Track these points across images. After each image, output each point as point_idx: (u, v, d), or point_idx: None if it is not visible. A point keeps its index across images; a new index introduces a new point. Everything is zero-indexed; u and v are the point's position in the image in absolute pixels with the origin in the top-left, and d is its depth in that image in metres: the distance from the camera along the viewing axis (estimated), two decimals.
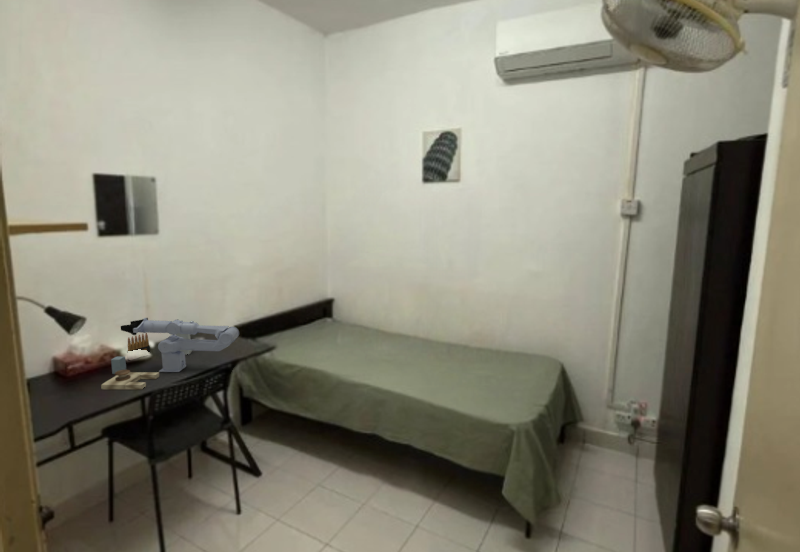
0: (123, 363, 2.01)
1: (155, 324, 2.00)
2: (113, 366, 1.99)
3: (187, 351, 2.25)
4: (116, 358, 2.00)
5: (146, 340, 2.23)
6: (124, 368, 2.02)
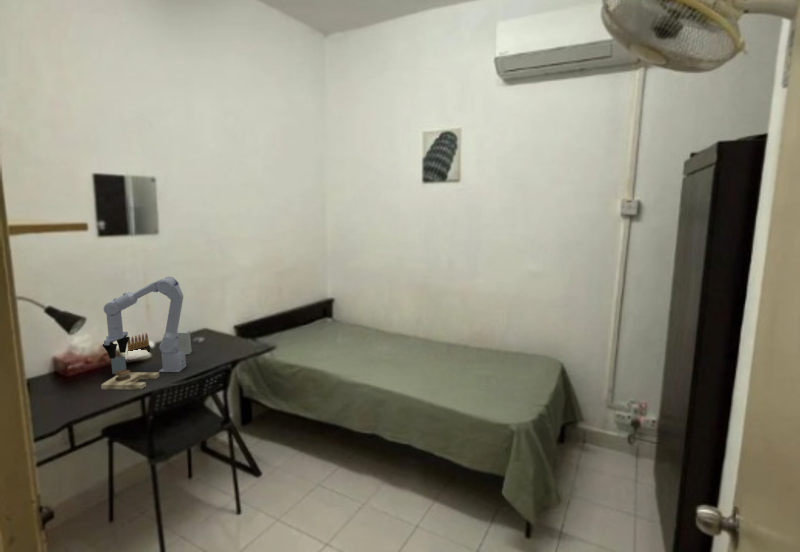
0: (123, 363, 2.01)
1: (108, 326, 1.95)
2: (113, 366, 1.99)
3: (187, 351, 2.25)
4: (116, 358, 2.00)
5: (146, 340, 2.23)
6: (124, 368, 2.02)
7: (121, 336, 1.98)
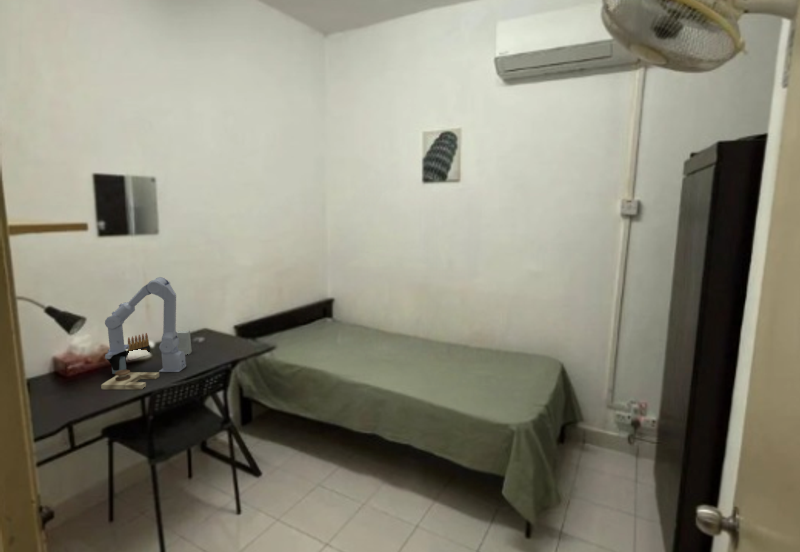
0: (123, 363, 2.01)
1: (109, 339, 1.96)
2: None
3: (187, 351, 2.25)
4: None
5: (146, 340, 2.23)
6: (124, 368, 2.02)
7: (122, 349, 1.99)
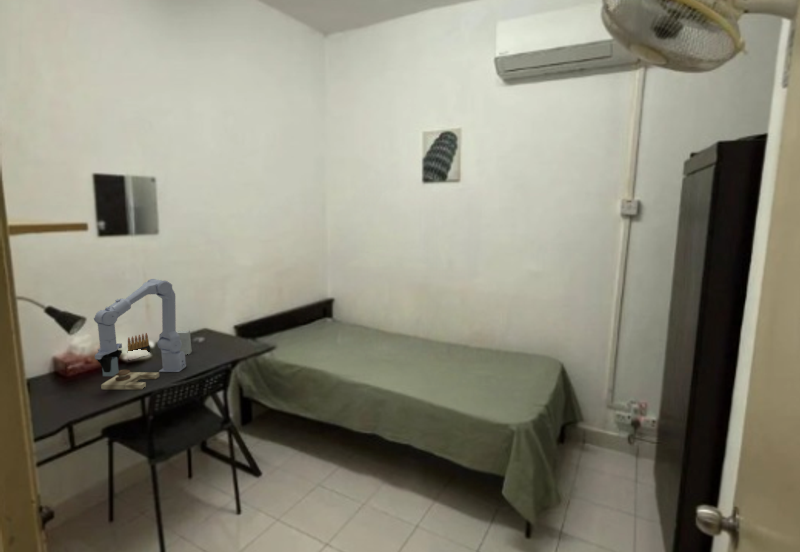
0: (115, 364, 1.81)
1: (106, 338, 1.76)
2: None
3: (187, 351, 2.25)
4: None
5: (146, 340, 2.23)
6: (116, 370, 1.82)
7: (114, 349, 1.79)
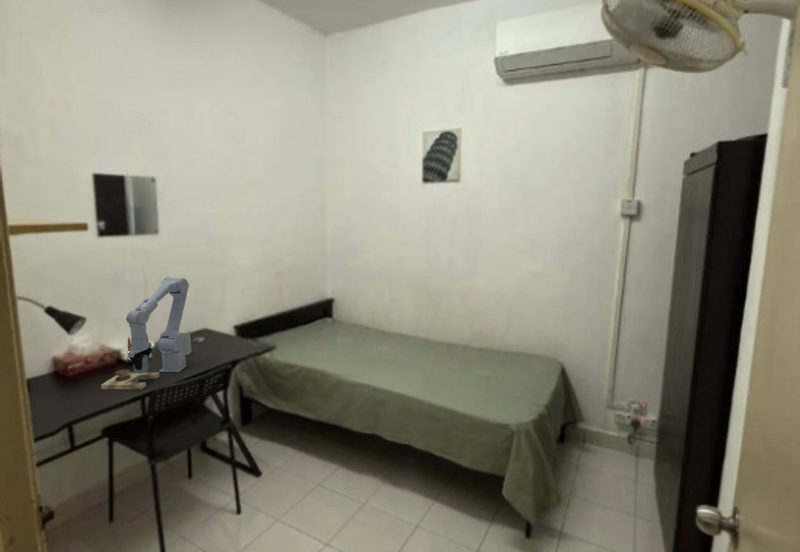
0: (145, 362, 1.89)
1: (139, 336, 1.84)
2: None
3: (187, 351, 2.25)
4: None
5: None
6: (146, 367, 1.90)
7: (145, 347, 1.87)
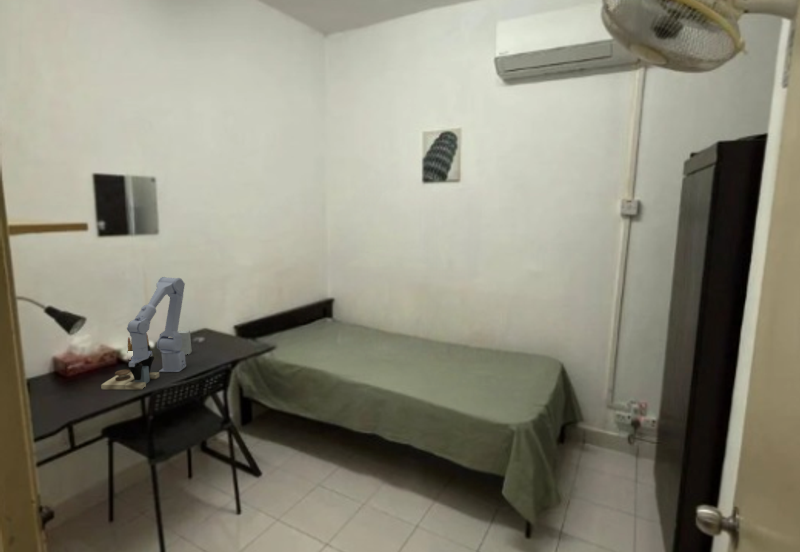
0: (146, 373, 1.90)
1: (140, 346, 1.85)
2: None
3: (187, 351, 2.25)
4: None
5: None
6: (147, 378, 1.90)
7: (146, 356, 1.87)
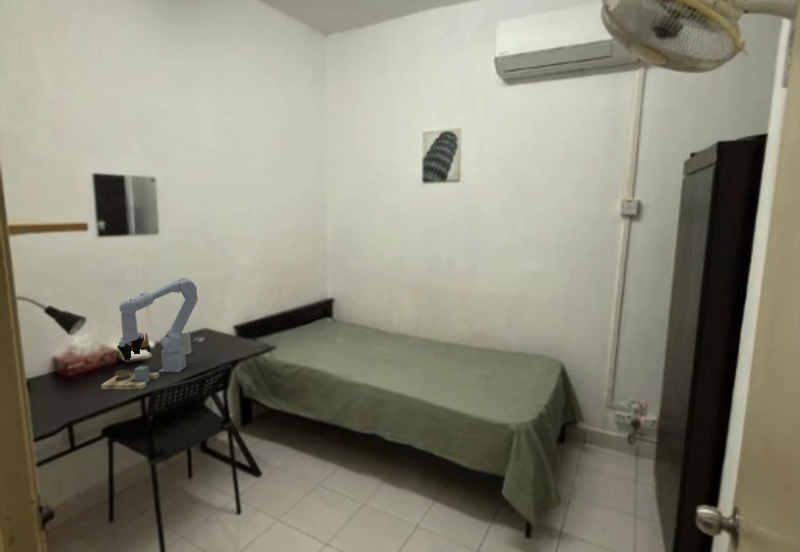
0: (146, 373, 1.90)
1: (125, 327, 1.90)
2: (136, 376, 1.87)
3: (187, 351, 2.25)
4: (139, 368, 1.88)
5: (146, 340, 2.23)
6: (147, 378, 1.90)
7: (136, 337, 1.93)
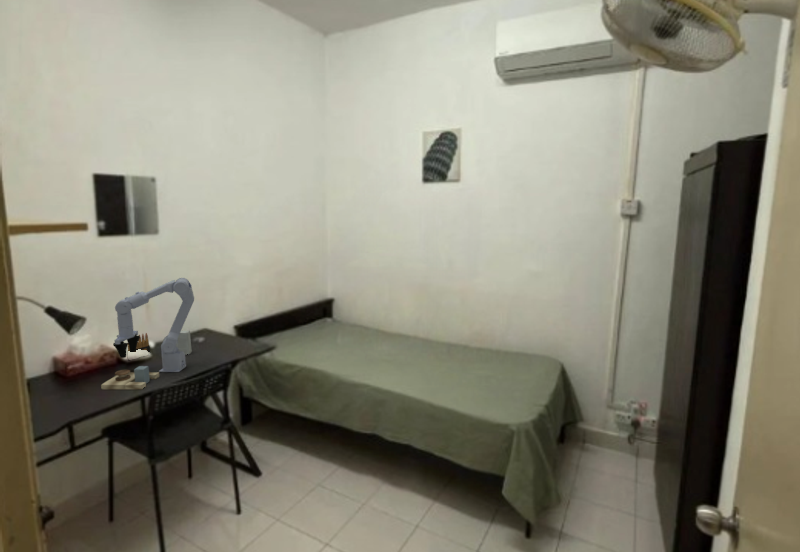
0: (146, 373, 1.90)
1: (119, 325, 1.93)
2: (136, 376, 1.87)
3: (187, 351, 2.25)
4: (139, 368, 1.88)
5: (146, 340, 2.23)
6: (147, 378, 1.90)
7: (132, 335, 1.96)
